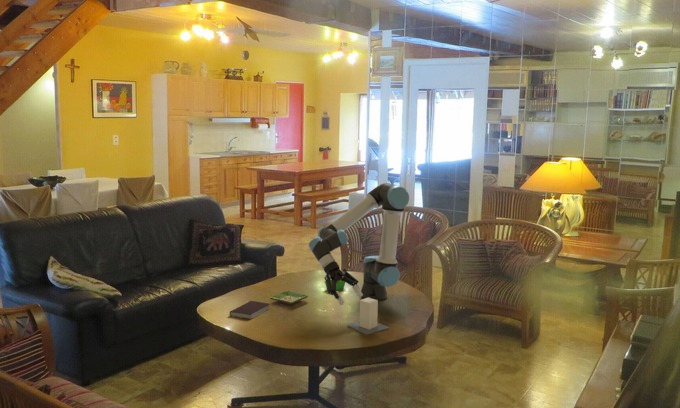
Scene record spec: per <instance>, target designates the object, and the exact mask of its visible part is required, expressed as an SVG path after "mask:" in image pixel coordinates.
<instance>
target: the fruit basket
mask: <svg viewBox="0 0 680 408" xmlns="http://www.w3.org/2000/svg"><path fill="white" fill-rule="evenodd" d="M342 278H343V276H342ZM331 280H332V279H331ZM324 284H325V287H326V289H327V285H326V280H324ZM331 284H332V283H331ZM345 285H346V282H344V281H341V280H340V281H337V282H336V291H340V290H343V289H344V288H345Z"/></svg>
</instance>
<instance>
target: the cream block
mask: <svg viewBox="0 0 680 408" xmlns="http://www.w3.org/2000/svg"><path fill="white" fill-rule="evenodd" d="M378 303H379V300H375V299H372V298H365V299H363V298H361V299H360V300H359V322H360V327H363V328H366V329H372V328H374V327H377V322H378V309H379V308H378V307H379V304H378Z"/></svg>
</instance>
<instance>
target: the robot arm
mask: <svg viewBox="0 0 680 408" xmlns="http://www.w3.org/2000/svg"><path fill="white" fill-rule="evenodd" d="M409 201H410V195H409V192H408V190H407V189H406V187H403V186H401V185H399V184H394V183H390V182H384V183H381V184H379V185H378V186H376V187H374V188H373V189H372V190H370V191H369V192H368V193H367V194H366V196H365V197H364V198H363V199H361V200H360V201H359V202H357V203H356V204H355V205H353V207H351V208H350V209H348V210H347V211H346V212H345V213H343V214H342V215H341V216H339V217H338V218H337V219H335V220H334V221H332V222H331V223H329V225H326V226H322V227H320V228H319V229H318V232H317V236H316V237H314V238H312V239H311V240H310V241H309V243H308V247H309V249H310V251H311V253H312V254H313V255H314V258H315V259H316V260H317V262H318V263H319V265H320V266H321V268H322V269H323V272H324V273H325V274H326V275H325V276H324V281H326V284H325V286H326V285H327V288H326V291H327V293H328V294H329V295H331V296H333V297H334V298H335V300H337V302H338V304H339V305H340V306H342V305H344V304H345V300H344V298H343V297H342V295H341V294H340V292H339V290H337V291H336V282H337V281H340V280H341V281H344V282H345V284H348V285H349V286H351V288H352V290H353V291H354V293H355V294H356V296H357V297H358V298H359V299H365V298H372V299H375V300H378V301H381V300H382V301H383V300H385V299H387V298H388V292H387V288H391V287H393V286H395V285H396V284H398V282H399V280H400V276H401V274H400V270H399V268H398V264H399V263H398V260H397V259H396V255H397V254H396V253H397V249H398V248H397V247H398V238H399V228H400V222H401V221H400V220H401V215H402V214H403V213H404V212H405V207H407V206H408V204H409ZM379 207H381V209H382V211H383V220H382V221H383V223H382V230H381V239H380V247H379V253H378V254H379V255H369V256H365V257H364V259H363V262H362V263H363V275H362V276H363V277H362V278H363V283H362V286H361V289H360V287H359V285H358V283H359V280H358V279H357V278H356V277H354V276H353V275H352V274H351V273H349V272H348V271H347V270H346V269H345V268H343V269H342V270H341V269H340V265H339V264H338V262H337V261H336V259H335V258H334V256H333V255H332V253H331V252H333V251H335V250H337V249H338V248H340V247H342V246H344V245H345V244H347V243H348V242H349V238H348V235H347V233H346V232H345V231H346V230H348V229H349V228H350V227H352V226H353V225H354V224H356V223H357V222H358V221H360V220H361V219H362V218H364V217H365V216H367V214H368V213H370V212H372V210H374V209H379ZM342 276H343V278H342ZM331 279H332V280H331ZM331 283H332V284H331Z"/></svg>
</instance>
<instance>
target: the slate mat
mask: <svg viewBox="0 0 680 408" xmlns="http://www.w3.org/2000/svg"><path fill="white" fill-rule="evenodd" d="M347 327H349V328H351V329H352V330H354V331H356V332H359V333H361V334H363V335H366V336H369V335H372V334H375V333H379V332H383V331H386V330H389V329H390V327H389V326H386V325H385V324H382V323H380V322H378V321H377V327H374V328H372V329H366V328H363V327H360V321H358V322H354V323H351V324H348V325H347Z"/></svg>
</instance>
